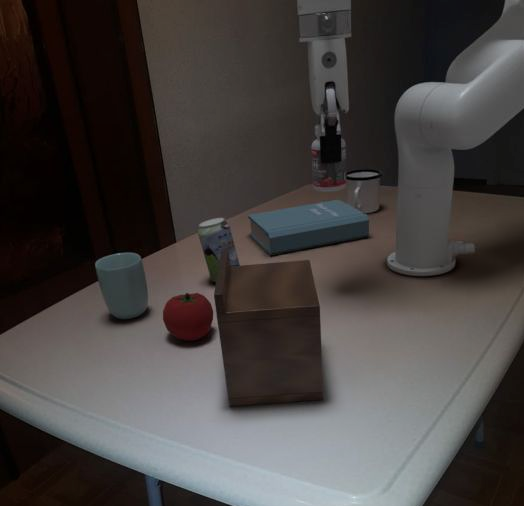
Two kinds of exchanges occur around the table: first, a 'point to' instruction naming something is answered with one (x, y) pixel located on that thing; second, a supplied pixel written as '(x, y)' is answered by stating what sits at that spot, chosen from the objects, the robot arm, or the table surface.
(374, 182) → the mug
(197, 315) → the tomato
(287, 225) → the book
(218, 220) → the beverage can
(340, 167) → the pill bottle
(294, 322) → the wooden box
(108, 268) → the cup
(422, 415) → the table surface
